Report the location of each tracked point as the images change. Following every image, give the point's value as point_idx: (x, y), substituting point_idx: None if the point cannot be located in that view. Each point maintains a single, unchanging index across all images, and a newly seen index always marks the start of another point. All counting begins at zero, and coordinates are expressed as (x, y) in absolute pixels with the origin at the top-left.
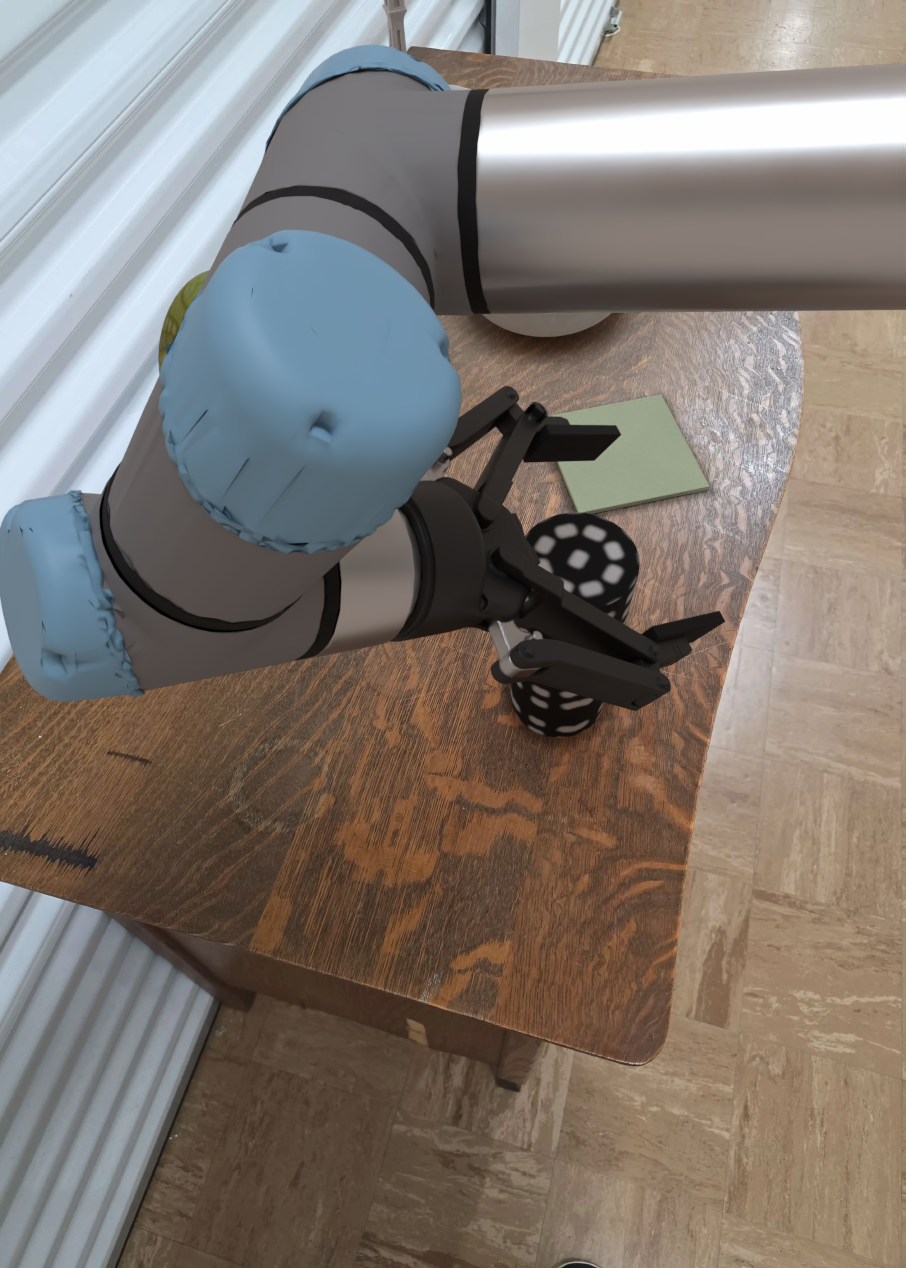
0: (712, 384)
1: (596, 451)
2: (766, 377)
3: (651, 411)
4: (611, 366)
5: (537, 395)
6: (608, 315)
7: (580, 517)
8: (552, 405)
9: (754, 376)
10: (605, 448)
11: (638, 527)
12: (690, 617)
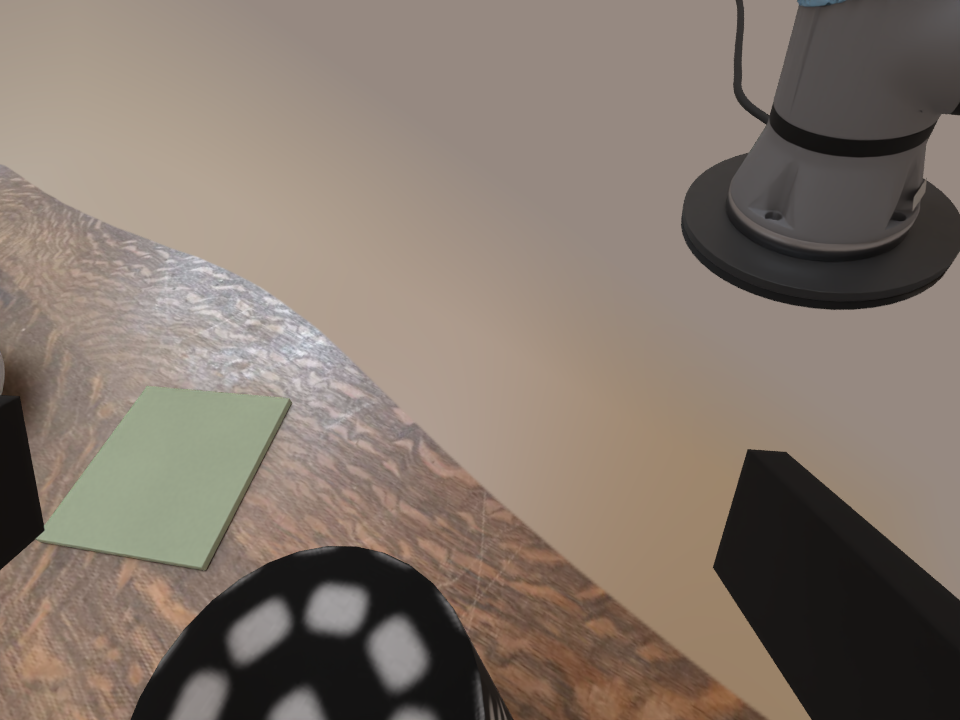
0: (184, 337)
1: (2, 508)
2: (220, 293)
3: (155, 406)
4: (66, 416)
5: None
6: (2, 382)
7: (193, 640)
8: None
9: (210, 301)
10: (26, 474)
11: (278, 501)
12: (858, 554)
